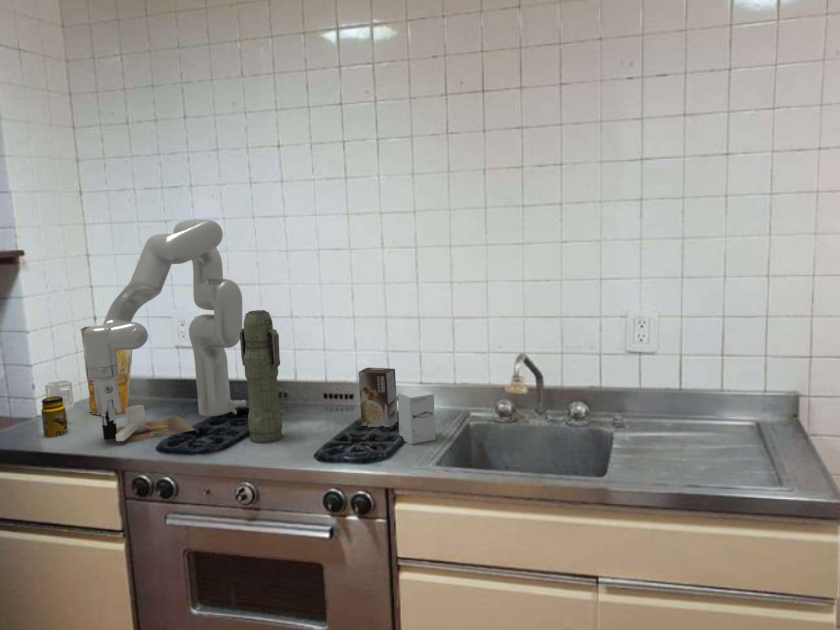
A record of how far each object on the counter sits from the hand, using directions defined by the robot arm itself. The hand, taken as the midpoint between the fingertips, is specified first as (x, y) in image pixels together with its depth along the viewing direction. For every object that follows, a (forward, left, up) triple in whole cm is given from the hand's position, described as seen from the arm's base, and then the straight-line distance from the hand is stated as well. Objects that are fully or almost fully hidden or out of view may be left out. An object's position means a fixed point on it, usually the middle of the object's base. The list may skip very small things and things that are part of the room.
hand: (110, 438), depth 192 cm
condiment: (+12, -19, -3) cm, 22 cm away
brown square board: (-11, -4, -2) cm, 12 cm away
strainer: (+8, -31, -3) cm, 32 cm away
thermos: (-36, +21, -3) cm, 42 cm away
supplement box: (-67, +49, -3) cm, 83 cm away
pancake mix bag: (-7, -38, -3) cm, 38 cm away
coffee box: (-66, +31, -3) cm, 73 cm away
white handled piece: (-7, 0, -1) cm, 7 cm away
